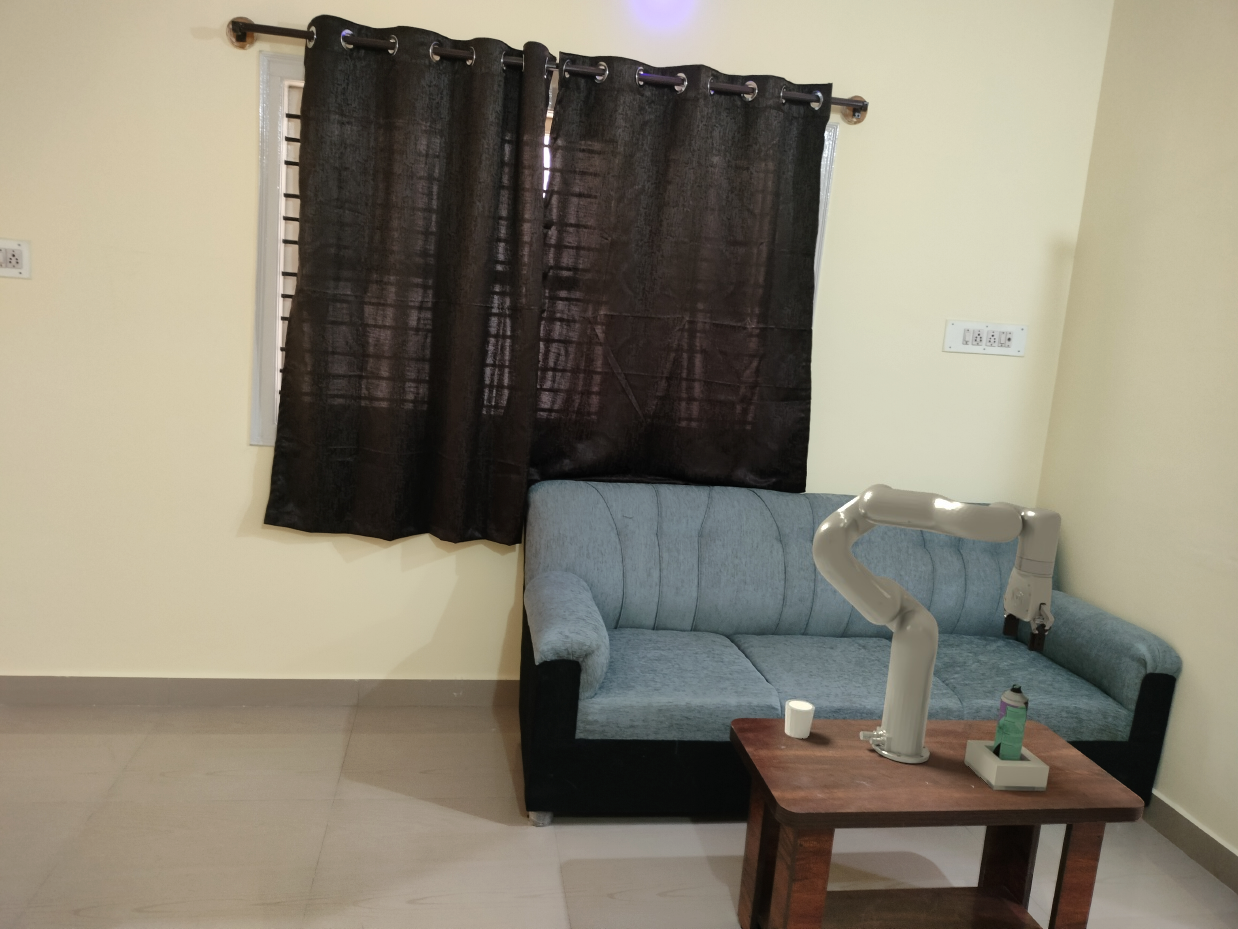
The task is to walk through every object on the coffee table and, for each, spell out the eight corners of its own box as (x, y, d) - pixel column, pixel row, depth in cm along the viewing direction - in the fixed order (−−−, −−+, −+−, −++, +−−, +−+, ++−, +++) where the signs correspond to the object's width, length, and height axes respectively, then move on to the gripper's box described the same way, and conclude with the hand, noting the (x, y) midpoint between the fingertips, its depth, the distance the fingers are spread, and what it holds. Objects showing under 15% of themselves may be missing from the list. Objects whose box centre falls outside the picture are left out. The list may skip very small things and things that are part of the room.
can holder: (993, 790, 182) (997, 765, 182) (964, 763, 194) (967, 740, 193) (1045, 791, 184) (1049, 767, 183) (1013, 764, 196) (1016, 741, 195)
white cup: (809, 728, 205) (813, 701, 204) (813, 741, 198) (817, 712, 198) (780, 725, 206) (784, 697, 205) (783, 737, 199) (787, 708, 198)
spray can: (1017, 770, 190) (1030, 684, 188) (1017, 780, 185) (1031, 692, 183) (990, 763, 192) (1003, 678, 190) (989, 773, 187) (1003, 686, 185)
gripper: (995, 555, 192) (984, 629, 194) (1041, 575, 175) (1028, 656, 177) (1027, 557, 193) (1015, 630, 195) (1075, 578, 176) (1062, 658, 178)
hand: (1021, 642), depth 186 cm, fingers open, 9 cm apart
